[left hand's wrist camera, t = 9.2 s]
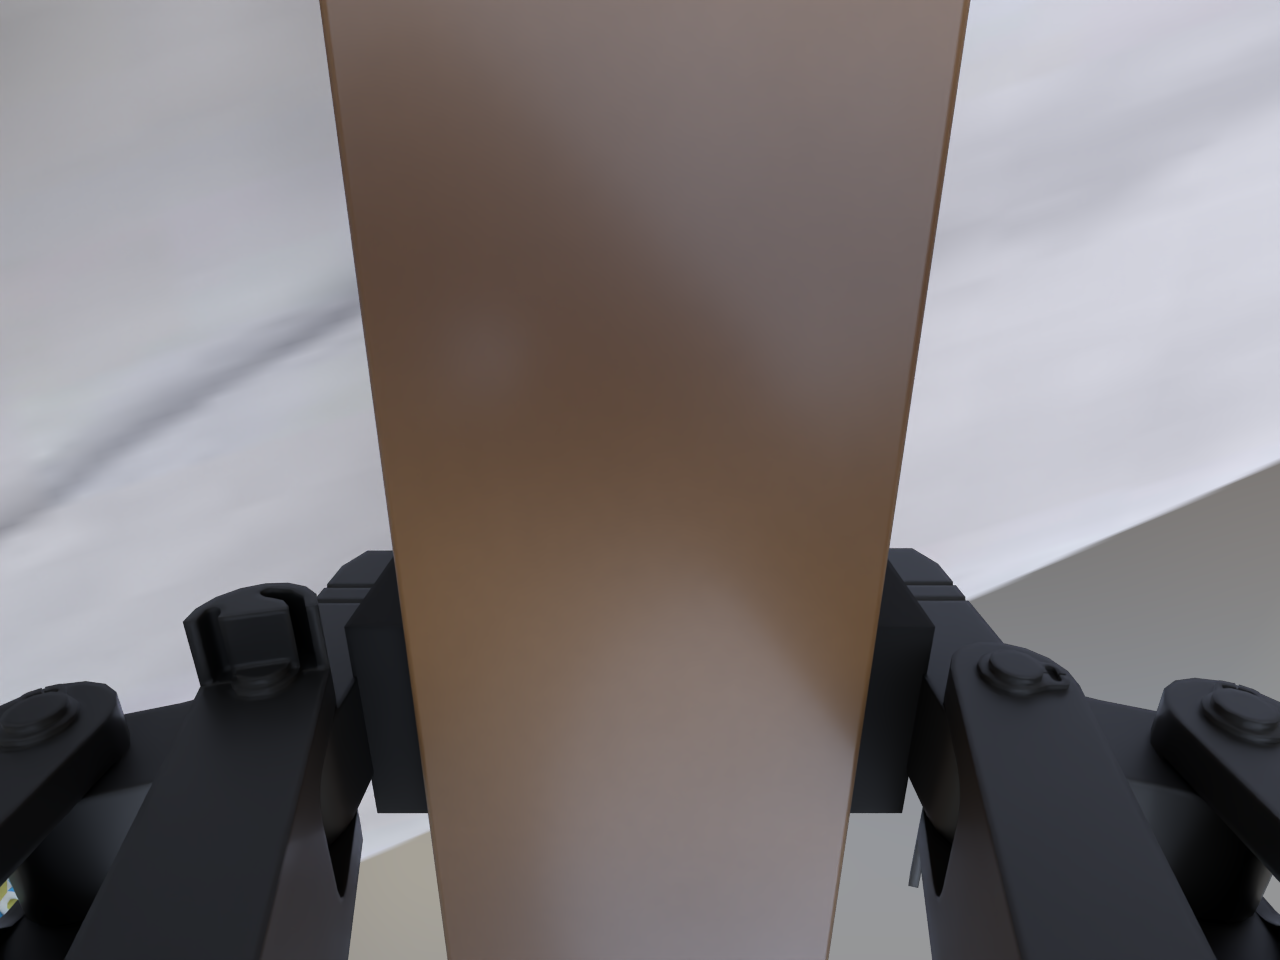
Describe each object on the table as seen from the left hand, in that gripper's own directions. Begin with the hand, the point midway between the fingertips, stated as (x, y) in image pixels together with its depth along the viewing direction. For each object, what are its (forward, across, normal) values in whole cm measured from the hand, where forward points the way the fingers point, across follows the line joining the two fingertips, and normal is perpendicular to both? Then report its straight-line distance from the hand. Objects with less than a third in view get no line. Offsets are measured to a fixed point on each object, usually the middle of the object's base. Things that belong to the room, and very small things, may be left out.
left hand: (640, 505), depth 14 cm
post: (+1, 0, -24) cm, 24 cm away
